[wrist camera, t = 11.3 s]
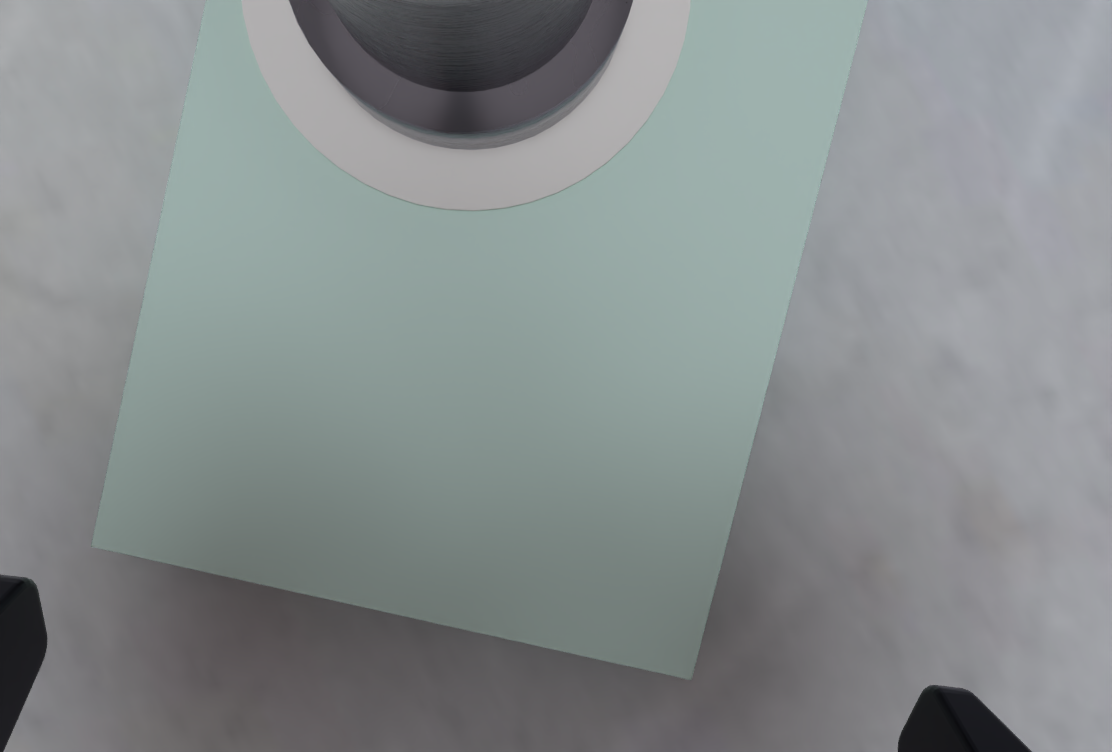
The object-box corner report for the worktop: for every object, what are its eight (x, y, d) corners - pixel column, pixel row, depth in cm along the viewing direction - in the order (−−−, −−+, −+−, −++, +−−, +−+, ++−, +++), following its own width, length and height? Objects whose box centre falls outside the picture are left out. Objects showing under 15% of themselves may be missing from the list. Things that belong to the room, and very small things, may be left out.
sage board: (679, 653, 21) (692, 683, 20) (122, 529, 21) (85, 549, 19) (904, -218, 20) (940, -266, 18) (316, -385, 19) (296, -450, 18)
